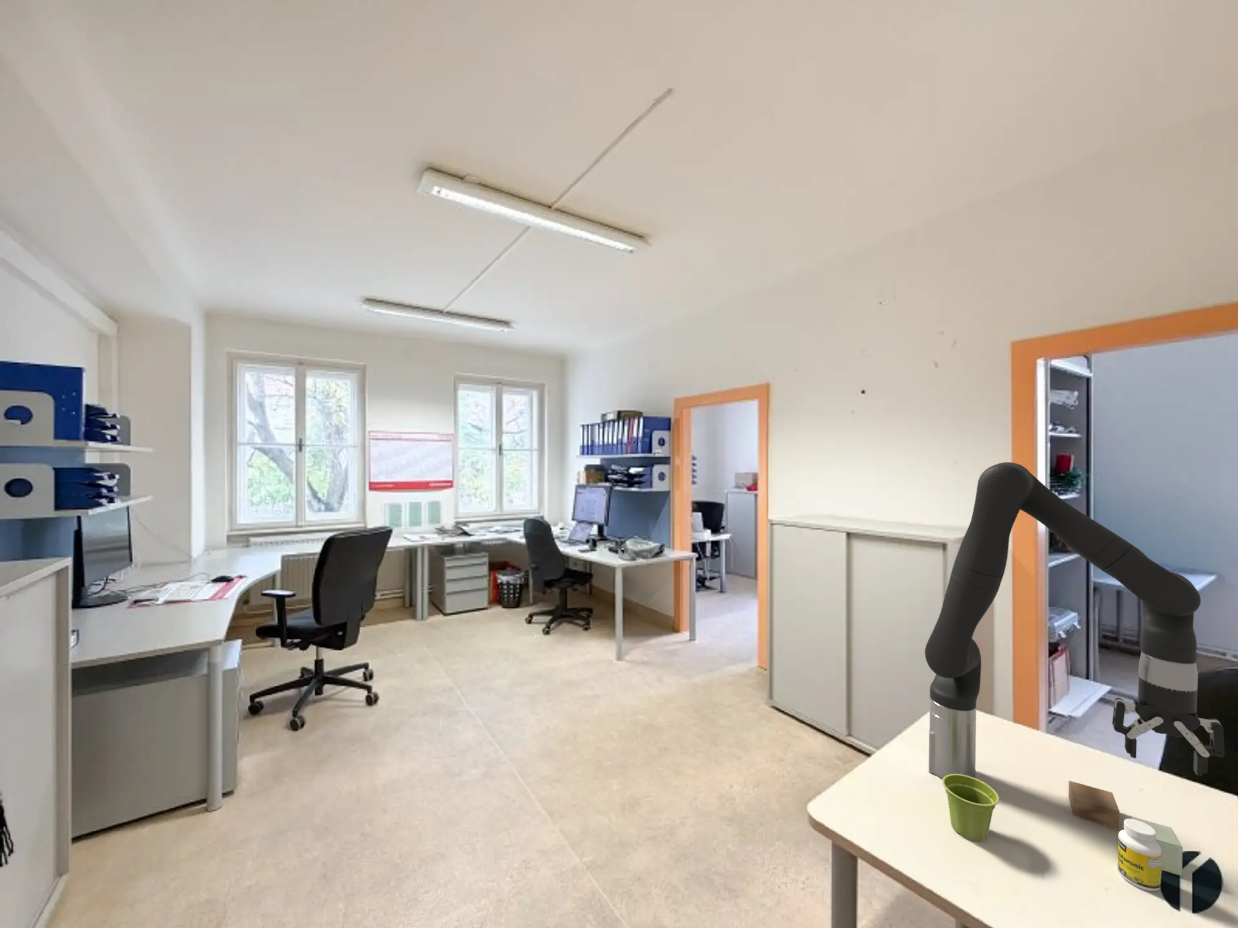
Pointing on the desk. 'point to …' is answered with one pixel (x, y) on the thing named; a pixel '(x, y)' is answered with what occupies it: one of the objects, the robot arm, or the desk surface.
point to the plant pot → (970, 805)
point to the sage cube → (1167, 847)
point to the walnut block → (1094, 805)
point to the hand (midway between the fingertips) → (1164, 764)
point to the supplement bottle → (1139, 855)
